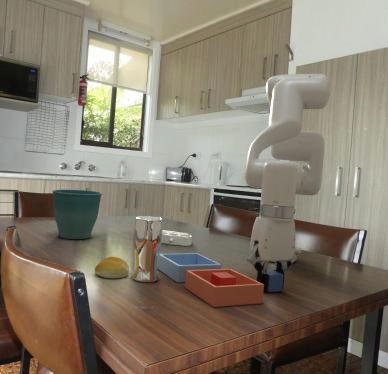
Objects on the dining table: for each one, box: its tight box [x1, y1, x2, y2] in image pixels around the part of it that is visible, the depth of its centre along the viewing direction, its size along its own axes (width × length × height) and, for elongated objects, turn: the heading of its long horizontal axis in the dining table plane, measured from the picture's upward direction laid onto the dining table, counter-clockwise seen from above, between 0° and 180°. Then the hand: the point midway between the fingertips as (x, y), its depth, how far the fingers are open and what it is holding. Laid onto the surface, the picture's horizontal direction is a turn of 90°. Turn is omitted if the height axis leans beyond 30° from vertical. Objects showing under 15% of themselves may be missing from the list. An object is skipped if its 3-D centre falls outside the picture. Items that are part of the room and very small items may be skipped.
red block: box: [210, 272, 236, 286], centre depth 82 cm, size 4×4×4 cm
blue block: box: [266, 269, 283, 293], centre depth 89 cm, size 4×4×4 cm
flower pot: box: [51, 189, 103, 240], centre depth 137 cm, size 18×18×17 cm
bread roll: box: [94, 256, 130, 279], centre depth 93 cm, size 8×9×4 cm
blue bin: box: [157, 252, 223, 283], centre depth 97 cm, size 12×12×4 cm
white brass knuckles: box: [161, 229, 193, 247], centre depth 142 cm, size 3×18×15 cm
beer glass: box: [132, 215, 163, 283], centre depth 91 cm, size 7×7×15 cm
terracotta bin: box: [184, 268, 265, 308], centre depth 83 cm, size 12×12×4 cm
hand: (269, 287), depth 89 cm, fingers closed on blue block, 4 cm apart
